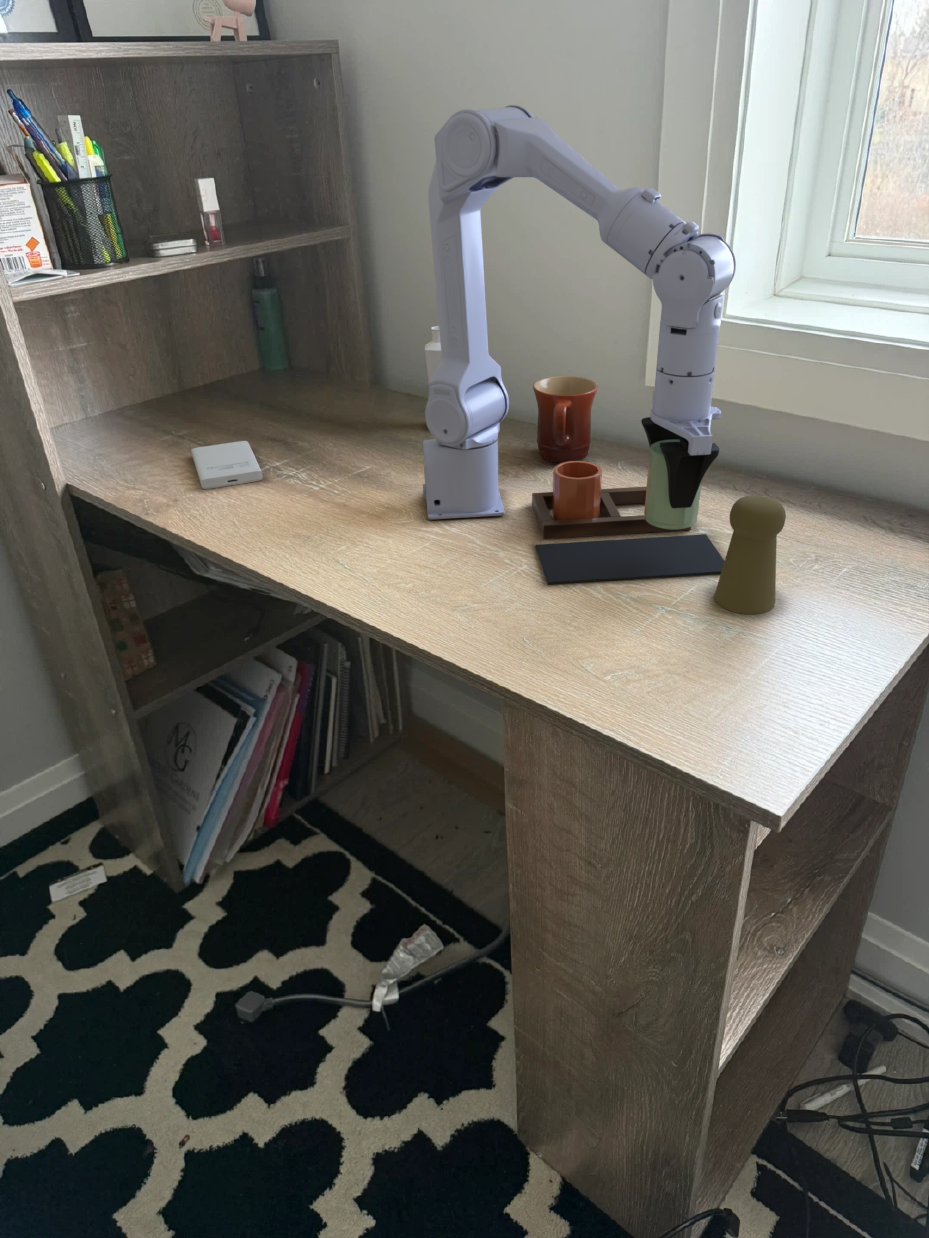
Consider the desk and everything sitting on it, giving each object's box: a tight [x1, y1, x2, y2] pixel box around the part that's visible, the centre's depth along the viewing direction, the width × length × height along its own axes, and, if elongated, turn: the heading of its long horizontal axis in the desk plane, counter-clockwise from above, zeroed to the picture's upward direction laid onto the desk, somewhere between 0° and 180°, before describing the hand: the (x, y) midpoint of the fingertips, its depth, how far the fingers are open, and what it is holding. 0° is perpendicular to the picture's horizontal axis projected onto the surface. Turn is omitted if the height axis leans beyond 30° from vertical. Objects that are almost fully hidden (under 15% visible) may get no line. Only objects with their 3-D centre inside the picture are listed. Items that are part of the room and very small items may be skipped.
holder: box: [531, 485, 692, 540], centre depth 109 cm, size 18×9×2 cm, turn 94°
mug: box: [532, 375, 599, 465], centre depth 123 cm, size 12×9×10 cm
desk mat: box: [535, 533, 725, 586], centre depth 100 cm, size 20×9×1 cm, turn 94°
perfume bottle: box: [424, 325, 442, 383], centre depth 135 cm, size 5×4×15 cm
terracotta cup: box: [551, 460, 603, 521], centre depth 107 cm, size 6×6×6 cm
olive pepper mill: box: [713, 494, 787, 615], centre depth 89 cm, size 6×6×11 cm
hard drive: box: [190, 440, 264, 490], centre depth 126 cm, size 2×8×12 cm
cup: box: [643, 439, 703, 529], centre depth 96 cm, size 6×6×8 cm
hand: (672, 494), depth 96 cm, fingers closed on cup, 5 cm apart
